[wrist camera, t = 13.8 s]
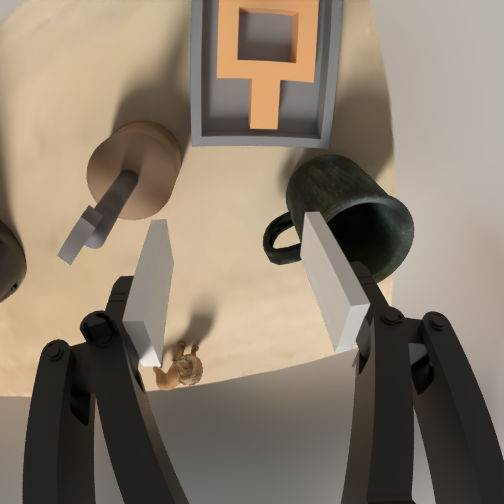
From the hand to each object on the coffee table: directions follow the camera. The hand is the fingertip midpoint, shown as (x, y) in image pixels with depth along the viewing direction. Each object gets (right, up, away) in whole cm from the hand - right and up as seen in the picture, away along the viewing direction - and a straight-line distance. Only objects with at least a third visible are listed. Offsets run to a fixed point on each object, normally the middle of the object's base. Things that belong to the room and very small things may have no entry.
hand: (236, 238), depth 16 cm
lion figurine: (-13, -18, +37) cm, 43 cm away
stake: (-11, +10, +16) cm, 22 cm away
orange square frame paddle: (+2, +18, +10) cm, 21 cm away
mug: (+8, +6, +21) cm, 23 cm away
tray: (+2, +19, +11) cm, 22 cm away
